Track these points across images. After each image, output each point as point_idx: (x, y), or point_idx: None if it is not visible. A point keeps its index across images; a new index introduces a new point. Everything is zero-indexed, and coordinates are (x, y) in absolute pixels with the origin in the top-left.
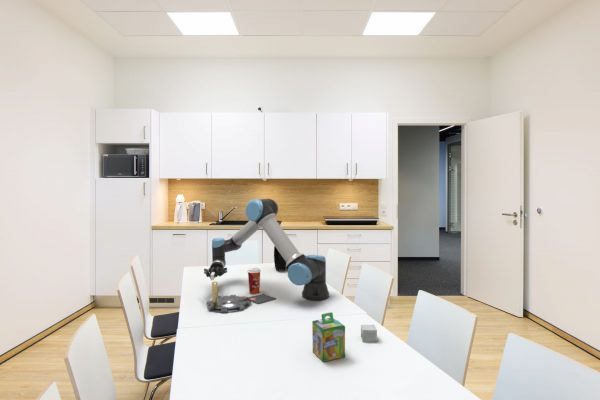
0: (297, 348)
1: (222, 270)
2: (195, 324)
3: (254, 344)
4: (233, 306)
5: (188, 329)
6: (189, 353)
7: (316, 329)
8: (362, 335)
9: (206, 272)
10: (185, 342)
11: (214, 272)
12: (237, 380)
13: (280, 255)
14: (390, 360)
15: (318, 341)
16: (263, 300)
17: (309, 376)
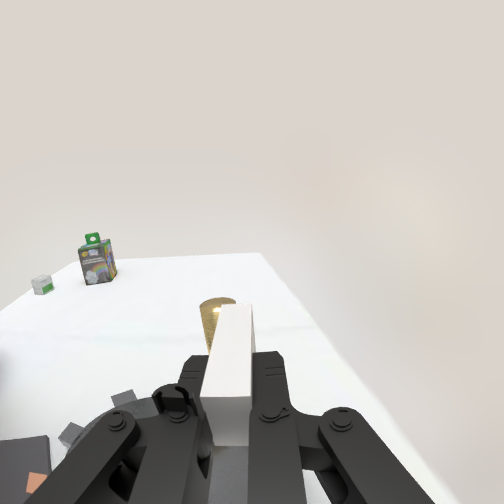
0: (120, 284)
1: (51, 474)
2: (289, 338)
3: (166, 290)
4: (152, 401)
5: (298, 320)
6: (265, 277)
7: (107, 247)
8: (51, 283)
9: (379, 449)
10: (282, 291)
11: (207, 376)
12: (204, 260)
13: None
14: (69, 274)
15: (110, 258)
16: (16, 449)
17: (142, 264)
